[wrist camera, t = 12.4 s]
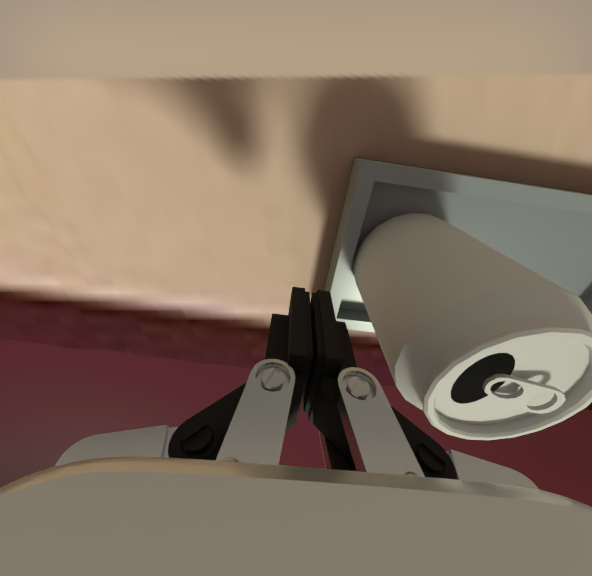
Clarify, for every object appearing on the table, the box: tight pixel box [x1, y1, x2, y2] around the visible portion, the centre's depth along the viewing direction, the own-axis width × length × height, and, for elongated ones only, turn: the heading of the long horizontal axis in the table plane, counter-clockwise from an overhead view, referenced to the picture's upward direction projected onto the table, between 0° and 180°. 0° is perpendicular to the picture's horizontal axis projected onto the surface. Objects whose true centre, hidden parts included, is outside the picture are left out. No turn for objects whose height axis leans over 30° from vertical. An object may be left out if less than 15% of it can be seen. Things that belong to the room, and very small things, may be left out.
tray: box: [324, 157, 592, 332], centre depth 19 cm, size 22×12×2 cm, turn 82°
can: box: [353, 213, 592, 440], centre depth 14 cm, size 8×8×12 cm
